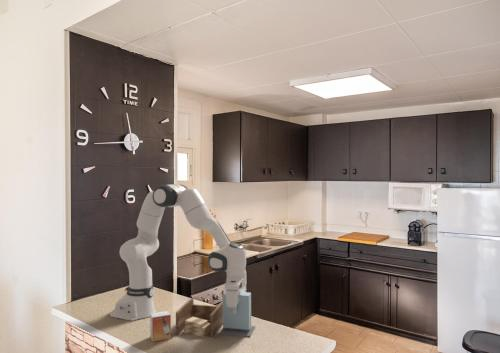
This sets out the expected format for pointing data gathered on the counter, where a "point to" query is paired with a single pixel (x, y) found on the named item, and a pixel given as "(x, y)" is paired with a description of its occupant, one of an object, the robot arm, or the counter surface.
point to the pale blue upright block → (238, 313)
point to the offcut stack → (197, 326)
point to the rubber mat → (237, 332)
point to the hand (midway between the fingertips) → (236, 310)
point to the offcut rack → (200, 315)
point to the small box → (160, 326)
